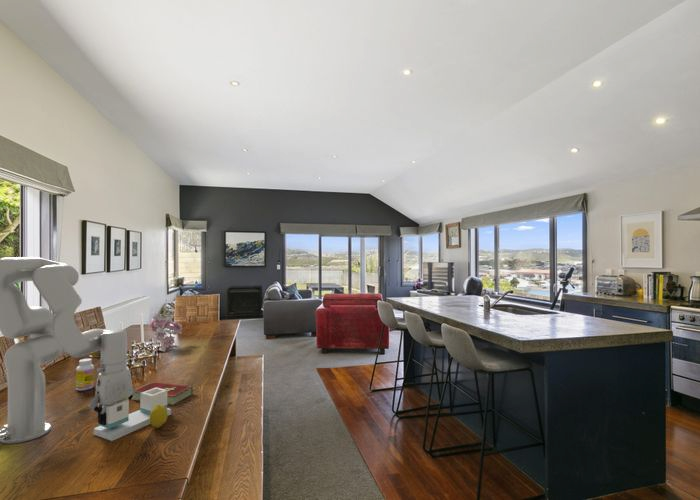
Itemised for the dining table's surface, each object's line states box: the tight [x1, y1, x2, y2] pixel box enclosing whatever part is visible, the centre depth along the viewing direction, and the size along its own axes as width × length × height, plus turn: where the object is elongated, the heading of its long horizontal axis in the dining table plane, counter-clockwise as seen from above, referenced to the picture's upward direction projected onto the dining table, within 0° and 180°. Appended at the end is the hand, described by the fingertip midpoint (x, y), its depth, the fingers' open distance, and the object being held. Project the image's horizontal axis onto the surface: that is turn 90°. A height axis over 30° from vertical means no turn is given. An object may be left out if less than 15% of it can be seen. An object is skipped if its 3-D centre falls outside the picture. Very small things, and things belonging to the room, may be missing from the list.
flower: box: [147, 312, 183, 353], centre depth 232 cm, size 20×22×25 cm
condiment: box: [89, 350, 101, 358], centre depth 218 cm, size 7×8×12 cm
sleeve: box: [97, 399, 130, 429], centre depth 123 cm, size 7×6×7 cm
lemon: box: [150, 405, 168, 429], centre depth 127 cm, size 6×6×8 cm
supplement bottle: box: [75, 358, 95, 392], centre depth 164 cm, size 7×7×13 cm
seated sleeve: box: [139, 387, 168, 415], centre depth 137 cm, size 6×6×7 cm
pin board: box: [93, 407, 172, 442], centre depth 130 cm, size 22×10×7 cm, turn 154°
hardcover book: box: [131, 381, 194, 405], centre depth 155 cm, size 12×21×4 cm, turn 76°
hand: (113, 419), depth 123 cm, fingers closed on sleeve, 6 cm apart
